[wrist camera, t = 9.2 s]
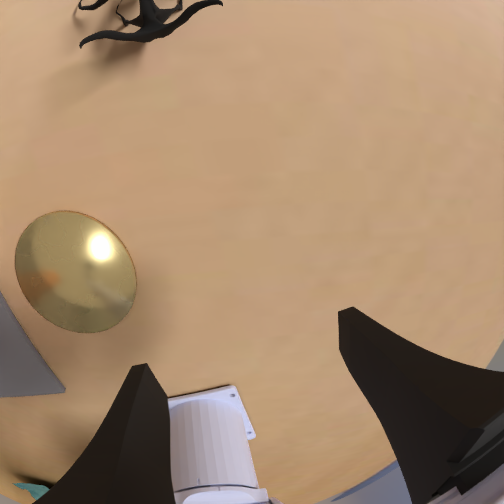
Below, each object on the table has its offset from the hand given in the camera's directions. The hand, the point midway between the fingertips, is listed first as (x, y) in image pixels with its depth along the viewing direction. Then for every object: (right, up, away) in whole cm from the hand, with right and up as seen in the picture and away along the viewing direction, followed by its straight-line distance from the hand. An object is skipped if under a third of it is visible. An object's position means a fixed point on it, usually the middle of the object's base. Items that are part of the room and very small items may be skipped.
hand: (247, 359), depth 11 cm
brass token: (-12, +2, +7) cm, 14 cm away
